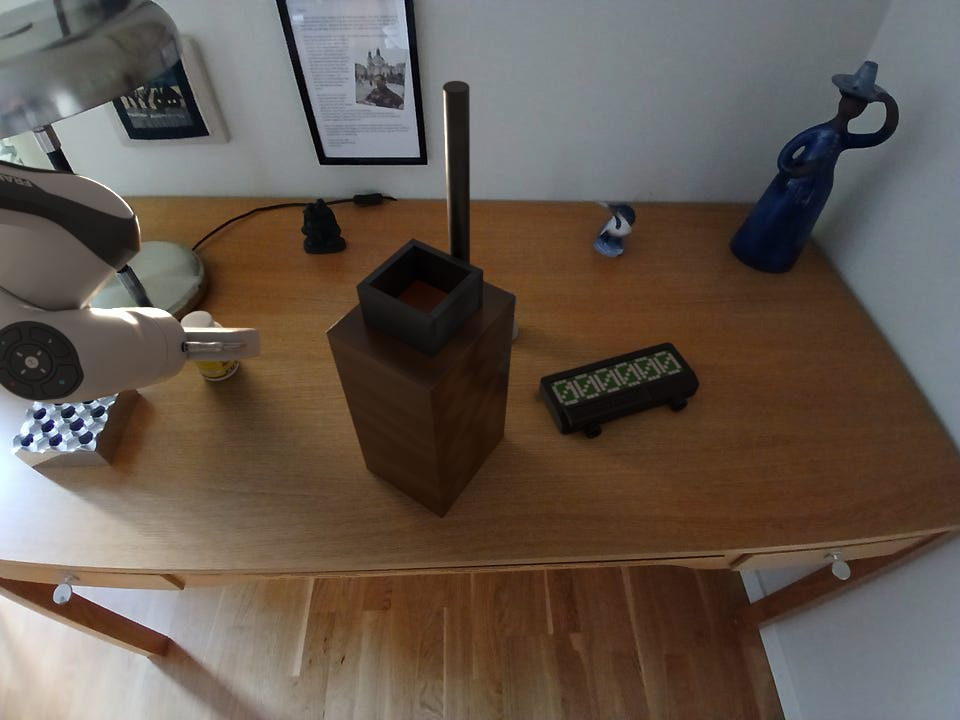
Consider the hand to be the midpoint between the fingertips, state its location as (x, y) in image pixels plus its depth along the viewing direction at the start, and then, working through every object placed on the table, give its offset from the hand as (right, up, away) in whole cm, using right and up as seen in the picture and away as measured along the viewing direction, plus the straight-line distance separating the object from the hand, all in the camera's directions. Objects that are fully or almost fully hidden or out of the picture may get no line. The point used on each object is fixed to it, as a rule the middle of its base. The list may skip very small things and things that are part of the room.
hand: (202, 338), depth 76 cm
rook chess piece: (+42, +1, +10) cm, 43 cm away
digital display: (+58, -8, +3) cm, 59 cm away
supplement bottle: (0, -4, +5) cm, 7 cm away
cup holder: (+32, -15, -4) cm, 36 cm away
